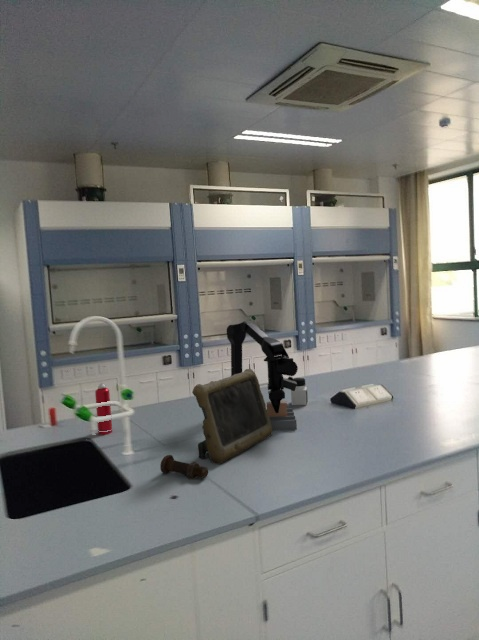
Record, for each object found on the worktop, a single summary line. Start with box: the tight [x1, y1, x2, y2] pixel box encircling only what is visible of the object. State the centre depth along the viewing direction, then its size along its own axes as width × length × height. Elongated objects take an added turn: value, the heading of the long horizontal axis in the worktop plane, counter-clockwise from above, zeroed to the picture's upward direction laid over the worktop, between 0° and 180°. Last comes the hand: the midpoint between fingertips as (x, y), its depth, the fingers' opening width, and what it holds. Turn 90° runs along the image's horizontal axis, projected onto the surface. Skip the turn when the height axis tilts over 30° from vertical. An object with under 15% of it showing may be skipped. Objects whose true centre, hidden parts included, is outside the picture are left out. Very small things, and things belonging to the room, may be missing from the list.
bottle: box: [94, 383, 113, 436], centre depth 181 cm, size 6×5×20 cm
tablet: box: [192, 368, 273, 465], centre depth 156 cm, size 33×14×25 cm, turn 149°
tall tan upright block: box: [266, 400, 288, 417], centre depth 180 cm, size 8×3×8 cm, turn 88°
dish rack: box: [269, 408, 298, 431], centre depth 181 cm, size 14×17×4 cm
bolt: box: [159, 454, 209, 480], centre depth 135 cm, size 6×5×15 cm
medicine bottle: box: [290, 377, 309, 406], centre depth 210 cm, size 7×7×12 cm
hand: (276, 411), depth 180 cm, fingers open, 5 cm apart
